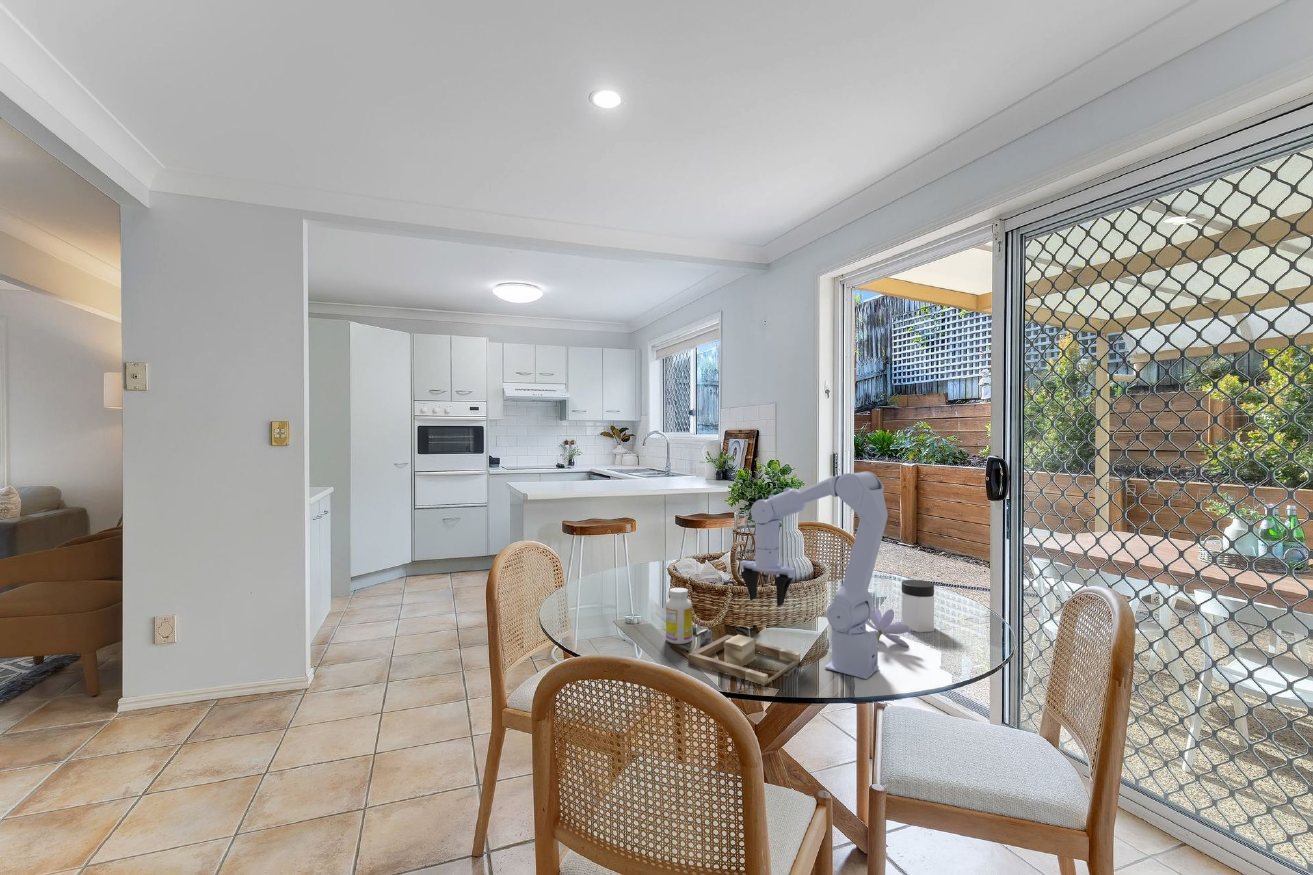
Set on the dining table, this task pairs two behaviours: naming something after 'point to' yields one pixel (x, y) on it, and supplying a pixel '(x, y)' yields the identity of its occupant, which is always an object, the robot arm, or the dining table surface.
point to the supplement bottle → (678, 617)
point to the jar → (918, 605)
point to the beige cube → (739, 650)
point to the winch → (703, 636)
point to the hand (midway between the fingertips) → (766, 601)
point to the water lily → (887, 626)
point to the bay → (703, 660)
